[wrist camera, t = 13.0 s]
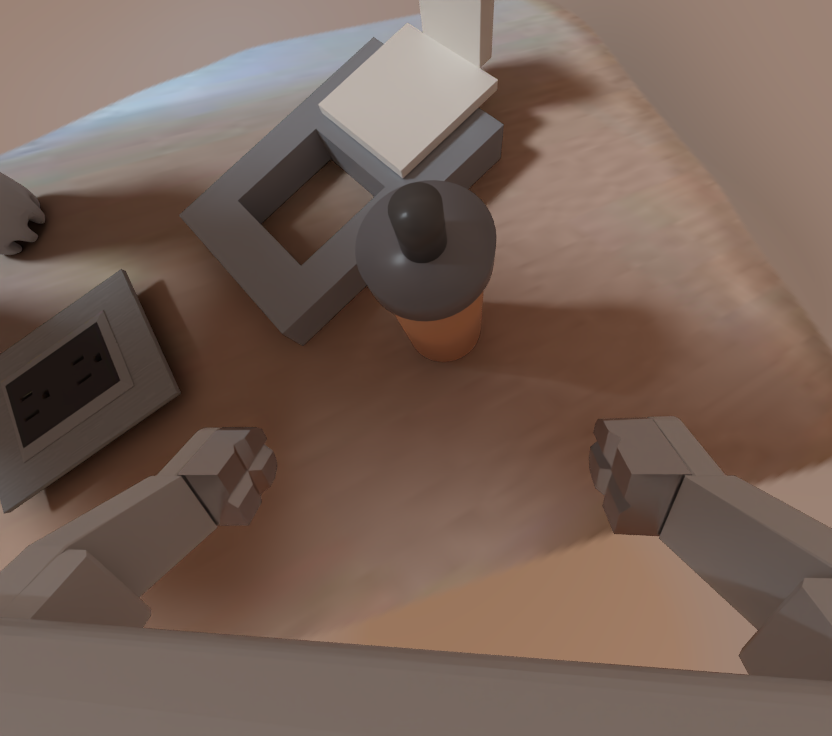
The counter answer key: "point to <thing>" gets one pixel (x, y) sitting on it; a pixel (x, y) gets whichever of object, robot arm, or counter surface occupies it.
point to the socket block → (285, 173)
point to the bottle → (17, 215)
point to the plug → (430, 263)
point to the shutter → (418, 84)
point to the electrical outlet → (77, 387)
